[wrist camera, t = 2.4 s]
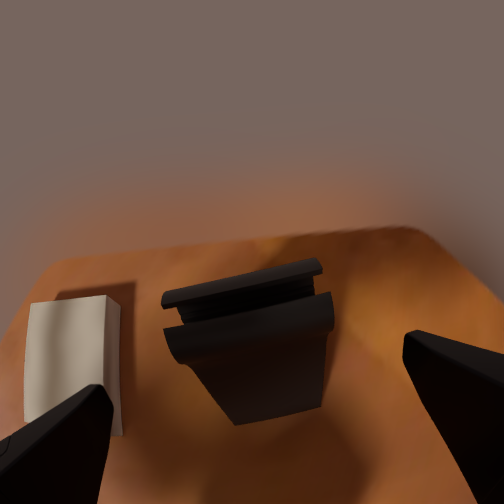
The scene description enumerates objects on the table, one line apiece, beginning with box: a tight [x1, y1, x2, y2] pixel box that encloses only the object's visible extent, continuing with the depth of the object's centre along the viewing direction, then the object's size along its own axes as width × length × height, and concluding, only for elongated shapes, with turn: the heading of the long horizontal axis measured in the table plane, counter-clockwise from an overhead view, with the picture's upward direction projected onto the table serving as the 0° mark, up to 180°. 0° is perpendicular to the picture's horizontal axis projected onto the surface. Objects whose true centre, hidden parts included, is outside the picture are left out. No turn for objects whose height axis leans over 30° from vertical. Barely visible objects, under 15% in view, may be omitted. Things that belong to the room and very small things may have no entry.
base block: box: [24, 295, 123, 437], centre depth 20 cm, size 9×11×2 cm
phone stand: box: [161, 258, 334, 426], centre depth 15 cm, size 9×6×12 cm, turn 11°
